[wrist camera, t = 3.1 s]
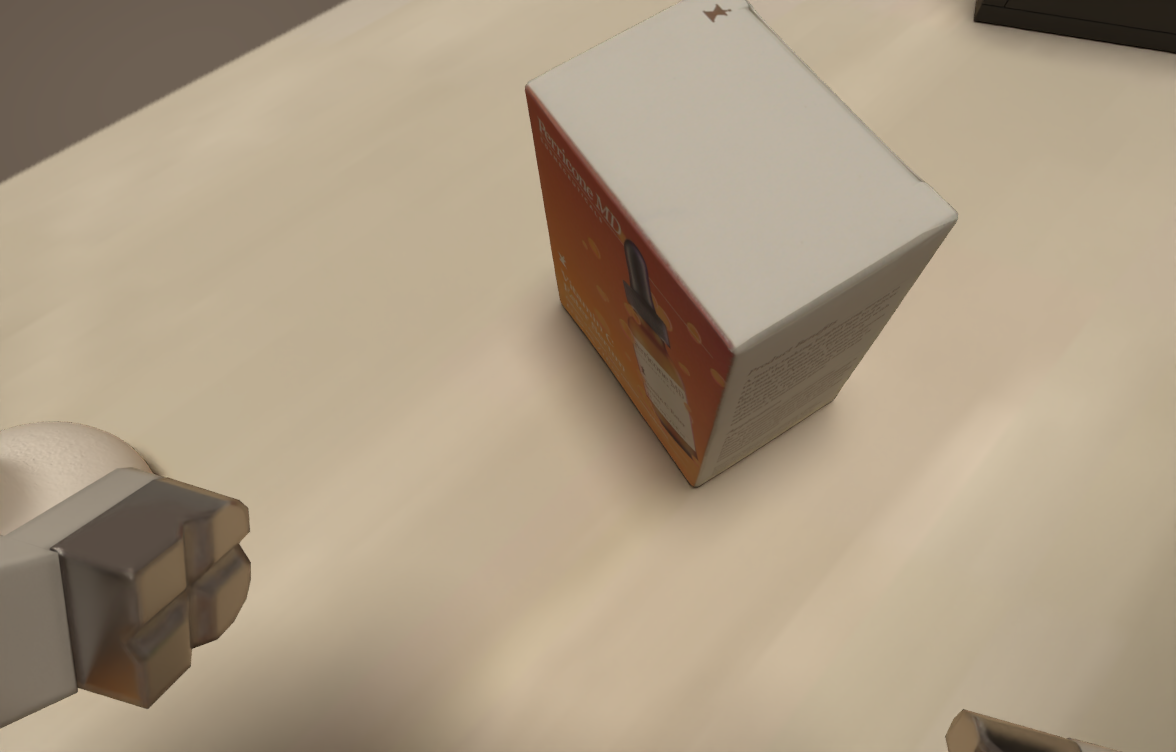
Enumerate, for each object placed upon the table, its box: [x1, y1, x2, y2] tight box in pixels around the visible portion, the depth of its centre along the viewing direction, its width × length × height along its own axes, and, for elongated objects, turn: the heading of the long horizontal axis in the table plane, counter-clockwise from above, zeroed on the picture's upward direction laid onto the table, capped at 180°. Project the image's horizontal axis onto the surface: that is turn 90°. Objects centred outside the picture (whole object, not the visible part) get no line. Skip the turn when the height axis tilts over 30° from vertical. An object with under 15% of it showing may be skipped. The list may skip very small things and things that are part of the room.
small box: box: [525, 0, 958, 487], centre depth 21 cm, size 8×6×10 cm
